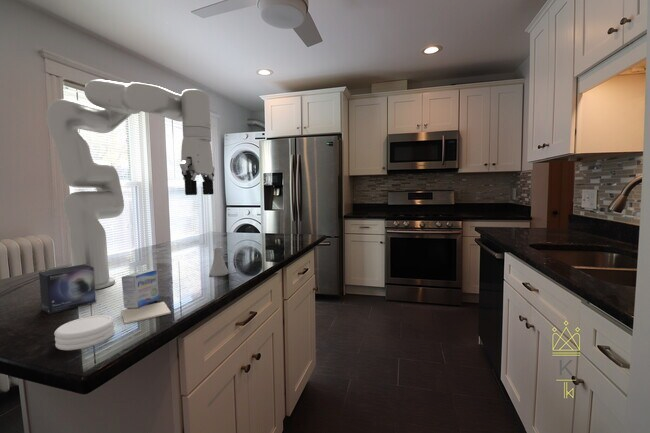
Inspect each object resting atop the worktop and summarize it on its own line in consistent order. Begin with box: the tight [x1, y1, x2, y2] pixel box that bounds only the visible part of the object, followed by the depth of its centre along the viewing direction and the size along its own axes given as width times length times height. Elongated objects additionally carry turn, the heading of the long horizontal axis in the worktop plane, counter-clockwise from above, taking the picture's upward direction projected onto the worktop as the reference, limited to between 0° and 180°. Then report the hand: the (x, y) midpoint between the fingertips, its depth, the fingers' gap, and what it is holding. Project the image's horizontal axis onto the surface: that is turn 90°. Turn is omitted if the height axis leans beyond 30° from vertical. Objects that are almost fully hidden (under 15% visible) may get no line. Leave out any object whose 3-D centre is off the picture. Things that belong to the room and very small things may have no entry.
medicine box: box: [121, 269, 160, 309], centre depth 85 cm, size 8×4×9 cm, turn 168°
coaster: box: [53, 314, 116, 351], centre depth 66 cm, size 10×10×4 cm
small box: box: [38, 264, 97, 315], centre depth 85 cm, size 11×6×10 cm, turn 148°
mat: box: [120, 301, 172, 325], centre depth 80 cm, size 10×10×1 cm
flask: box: [208, 247, 230, 277], centre depth 116 cm, size 7×7×10 cm
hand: (200, 194), depth 91 cm, fingers open, 9 cm apart
